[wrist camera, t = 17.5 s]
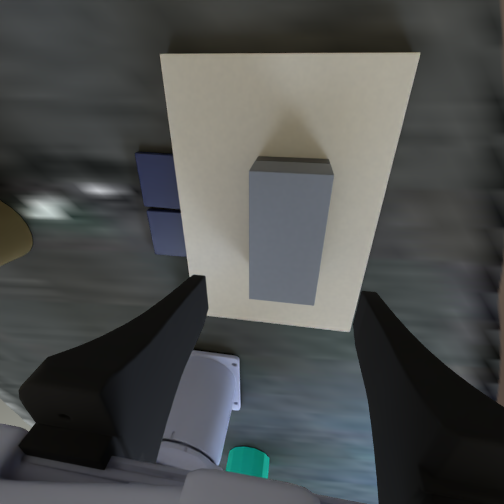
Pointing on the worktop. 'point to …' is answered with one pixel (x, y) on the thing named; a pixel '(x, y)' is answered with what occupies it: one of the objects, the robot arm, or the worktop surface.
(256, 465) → the candle
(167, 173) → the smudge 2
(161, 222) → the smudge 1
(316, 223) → the eraser
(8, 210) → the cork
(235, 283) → the memo board
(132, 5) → the worktop surface
